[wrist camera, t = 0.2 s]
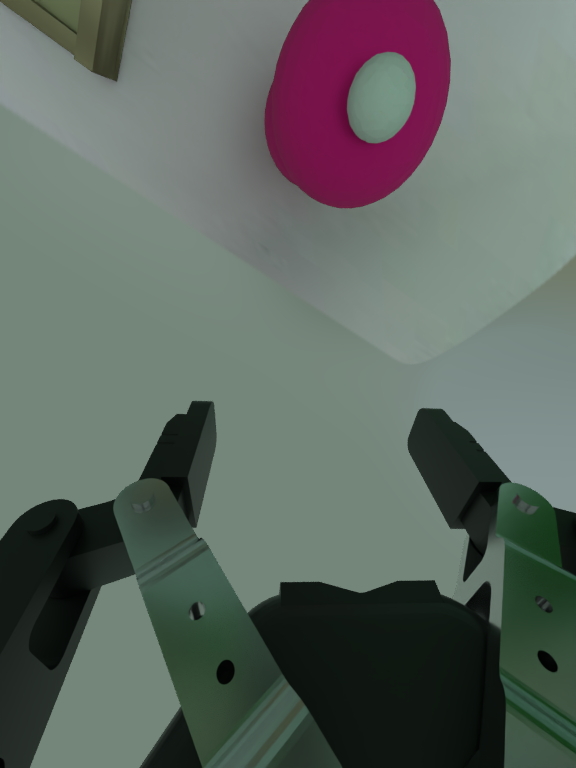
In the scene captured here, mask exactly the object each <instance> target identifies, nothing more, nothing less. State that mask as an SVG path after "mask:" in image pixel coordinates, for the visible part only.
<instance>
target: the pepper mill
mask: <svg viewBox="0 0 576 768" xmlns="http://www.w3.org/2000/svg"><path fill="white" fill-rule="evenodd" d="M450 66H451V59H450V52H449V44H448V36H447V31H446V28H445V25H444V22H443V19H442V16H441V13H440V10H439V8H438V7H437V5H436V4H435V2H434V0H309V1H308V2H307V4H306V5H305V6H304V7H303V9H302V10H301V12H300V13H299V15H298V17H297V18H296V20H295V22H294V23H293V25H292V27H291V29H290V31H289V33H288V35H287V38H286V40H285V42H284V44H283V47H282V50H281V53H280V56H279V59H278V62H277V66H276V71H275V76H274V81H273V83H272V85H271V88H270V91H269V95H268V98H267V103H266V109H265V135H266V139H267V144H268V148H269V151H270V154H271V156H272V158H273V160H274V162H275V164H276V166H277V167H278V169H279V170H280V171H281V173H282V174H283V175H284V176H285V177H286V178H287V179H288V180H289V181H290V182H292V183H294V184H295V185H297V186H299V188H300V189H301V190H302V191H304V192H305V193H306V194H307V195H308V196H310V197H311V198H313V199H315V200H317V201H318V202H320V203H323V204H326V205H329V206H332V207H336V208H356V207H362V206H365V205H368V204H371V203H374V202H376V201H378V200H380V199H382V198H384V197H386V196H387V195H389V194H390V193H392V192H393V191H395V190H396V189H397V188H399V187H400V186H401V185H402V184H403V183H404V182H405V181H406V180H407V179H408V178H409V177H410V176H411V175H412V173H413V172H414V171H415V169H416V168H417V167H418V165H419V164H420V163H421V162H422V160H423V158H424V157H425V155H426V153H427V151H428V150H429V148H430V146H431V145H432V143H433V140H434V138H435V136H436V133H437V131H438V129H439V126H440V124H441V121H442V117H443V114H444V110H445V106H446V103H447V97H448V91H449V84H450Z"/></svg>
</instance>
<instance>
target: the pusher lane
mask: <svg viewBox="0 0 576 768" xmlns="http://www.w3.org/2000/svg"><path fill="white" fill-rule="evenodd" d="M0 2H2V3H3V4H4V5H6V6H7V7H9V8H10V9H11V10H13V11H14V12H15V13H17V14H18V15H20V16H21V17H22V18H24V19H25V20H27V21H28V22H29V23H31V24H32V25H33V26H35V27H36V28H38V29H39V30H40V31H42V32H43V33H44V34H46V35H47V36H49V37H50V38H51V39H53V40H54V41H55V42H57V43H58V44H60V45H61V46H62V47H64V48H65V49H66V50H68V51H69V52H71V53H72V54H73V55H74V59H75V60H76V61H78V62H79V63H80V64H82V65H83V66H84V67H86V68H87V69H89V70H90V71H91V72H94V73H96V74H99V75H101V76H104V77H107V78H109V79H112V80H115V81H117V77H118V72H119V66H120V61H121V56H122V50H123V45H124V39H125V34H126V29H127V23H128V18H129V12H130V7H131V2H132V0H0Z"/></svg>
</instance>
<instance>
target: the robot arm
mask: <svg viewBox="0 0 576 768" xmlns="http://www.w3.org/2000/svg"><path fill="white" fill-rule="evenodd" d="M214 411H215V410H214V403H213V402H212V401H192V403H191V405H190V407H189V410H188V412H187V414H177V415H175V416H174V417H173V418H172V419H171V420H170V421H168V422H167V424H166V426H165V428H164V430H163V432H162V435H161V436H160V438H159V440H158V442H157V445H156V446H155V448H154V450H153V452H152V454H151V456H150V458H149V460H148V462H147V465H146V466H145V469H144V471H143V473H142V475H141V477H140V479H139V480H138V481H137V482H134V483H132V484H131V485H129V486H127V487H126V488H125V489H124V490H122V491H121V493H120V494H119V495H118V497H117V498H116V499H114V500H112V501H109V502H106V503H102V504H98V505H94V506H90V507H86V508H82V509H79V510H78V509H77V507H76V505H75V504H74V503H72V502H71V501H69V500H64V499H58V500H51V501H47V502H44V503H42V504H39V505H37V506H35V507H33V508H31V509H30V510H28V511H27V512H25V513H24V514H23V515H21V516H20V517H19V518H18V519H17V520H16V521H15V522H14V523H13V524H12V526H11V527H10V528H9V530H8V531H7V533H6V534H5V535H4V536H3V538H2V539H1V540H0V768H30V765H31V763H32V760H33V758H34V755H35V753H36V750H37V748H38V745H39V743H40V740H41V737H42V735H43V733H44V730H45V728H46V725H47V722H48V720H49V717H50V715H51V712H52V710H53V707H54V705H55V702H56V700H57V697H58V695H59V692H60V690H61V687H62V685H63V682H64V679H65V677H66V674H67V672H68V669H69V667H70V664H71V662H72V659H73V657H74V654H75V652H76V649H77V647H78V644H79V642H80V639H81V636H82V634H83V631H84V629H85V626H86V624H87V621H88V619H89V616H90V614H91V611H92V608H93V606H94V604H95V601H96V599H97V596H98V593H99V591H100V588H101V586H102V585H105V584H108V583H111V582H114V581H117V580H120V579H123V578H126V577H129V576H131V575H134V574H136V577H137V582H138V585H139V588H140V591H141V594H142V597H143V600H144V602H145V605H146V608H147V611H148V614H149V617H150V619H151V622H152V625H153V628H154V631H155V634H156V637H157V639H158V642H159V645H160V648H161V650H162V654H163V657H164V659H165V662H166V665H167V668H168V671H169V673H170V676H171V679H172V682H173V685H174V688H175V690H176V694H177V696H178V699H179V702H180V705H181V707H180V709H179V710H178V712H177V713H176V714H175V716H174V718H173V719H172V721H171V722H170V723H169V725H168V726H167V728H166V729H165V731H164V732H163V734H162V735H161V737H160V738H159V740H158V741H157V743H156V744H155V746H154V747H153V749H152V750H151V752H150V753H149V754H148V756H147V757H146V759H145V760H144V762H143V763H142V765H141V767H140V768H576V513H573V512H569V511H566V510H562V509H558V508H554V507H552V506H551V504H550V503H549V502H548V501H547V500H546V499H545V498H544V497H543V496H541V495H540V494H539V493H537V492H536V491H534V490H532V489H531V488H528V487H526V486H524V485H521V484H518V483H512V482H511V481H510V480H509V479H508V478H507V477H506V475H505V474H504V473H503V472H502V471H501V469H500V468H499V467H498V466H497V465H496V463H495V462H494V461H493V460H492V459H491V458H490V457H489V455H488V454H487V453H486V452H484V450H483V448H482V447H481V446H480V445H479V443H476V440H475V439H474V438H473V436H472V435H471V434H470V433H469V432H468V431H467V430H466V429H464V428H463V427H462V426H460V425H459V424H457V423H456V422H453V421H452V420H451V419H450V417H449V416H448V415H447V414H446V412H445V411H444V410H443V409H429V408H422V409H420V410H419V411H418V413H417V416H416V418H415V421H414V424H413V426H412V429H411V432H410V434H409V437H408V450H409V453H410V455H411V457H412V459H413V460H414V462H415V464H416V466H417V468H418V470H419V472H420V473H421V475H422V477H423V479H424V481H425V483H426V484H427V486H428V488H429V490H430V492H431V494H432V495H433V497H434V499H435V501H436V503H437V505H438V507H439V508H440V510H441V512H442V514H443V516H444V518H445V520H446V522H447V523H448V525H449V527H450V528H451V529H466V531H467V533H468V535H467V536H466V538H465V540H464V546H463V551H462V557H461V563H460V569H459V575H458V581H457V586H456V590H455V593H454V595H453V597H452V599H451V598H449V597H446V596H444V595H441V594H440V592H439V590H438V587H437V585H436V583H435V581H434V580H432V581H396V582H394V583H390V584H388V585H385V586H382V587H379V588H376V589H373V590H371V591H368V592H365V593H358V592H354V591H350V590H347V589H343V588H339V587H336V586H332V585H329V584H325V583H322V582H281V583H280V592H279V595H277V596H274V597H271V598H269V599H267V600H265V601H263V602H261V603H260V604H258V605H257V606H255V607H254V608H253V609H251V610H250V611H249V612H248V613H247V612H246V610H245V609H244V607H243V605H242V603H241V602H240V600H239V598H238V596H237V595H236V593H235V591H234V590H233V588H232V586H231V584H230V583H229V581H228V579H227V577H226V576H225V574H224V572H223V571H222V569H221V567H220V565H219V564H218V562H217V560H216V558H215V557H214V555H213V553H212V552H211V550H210V548H209V547H208V545H207V543H206V542H205V541H204V540H203V539H202V538H200V539H199V538H198V537H197V536H196V534H195V532H194V530H193V529H192V528H196V527H197V522H198V518H199V514H200V510H201V506H202V501H203V498H204V493H205V489H206V485H207V481H208V477H209V473H210V468H211V464H212V460H213V456H214V452H215V447H216V423H215V412H214Z"/></svg>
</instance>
